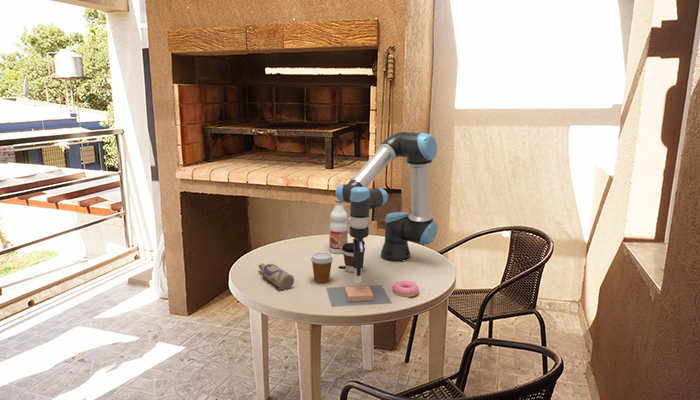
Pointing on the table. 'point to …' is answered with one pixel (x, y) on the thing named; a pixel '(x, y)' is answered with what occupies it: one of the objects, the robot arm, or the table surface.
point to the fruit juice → (338, 228)
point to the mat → (340, 299)
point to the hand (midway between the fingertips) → (357, 282)
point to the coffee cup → (349, 257)
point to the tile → (358, 293)
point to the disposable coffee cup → (321, 267)
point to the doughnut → (405, 288)
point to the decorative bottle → (277, 276)
